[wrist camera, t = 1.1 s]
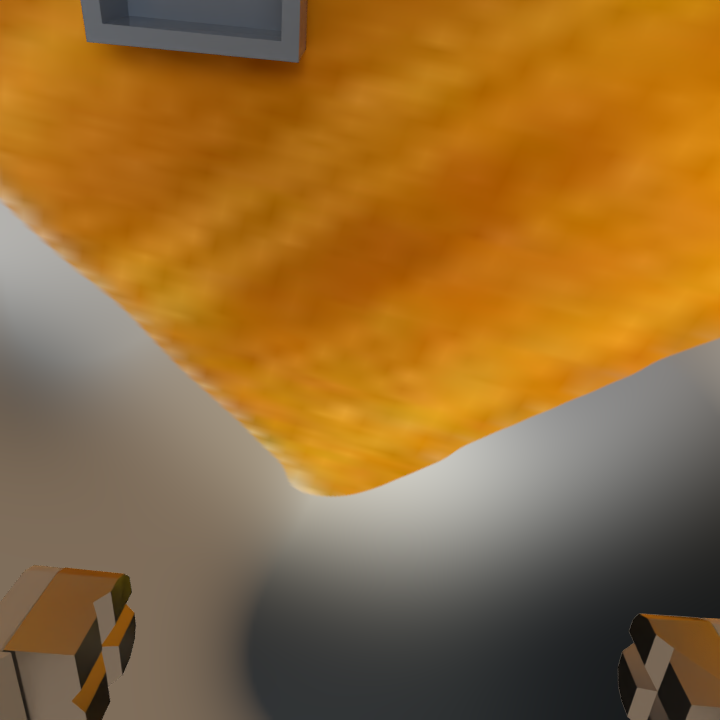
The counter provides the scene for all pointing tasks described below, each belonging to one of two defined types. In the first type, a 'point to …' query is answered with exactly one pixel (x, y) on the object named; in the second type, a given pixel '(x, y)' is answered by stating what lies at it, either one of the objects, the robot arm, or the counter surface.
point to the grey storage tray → (202, 26)
